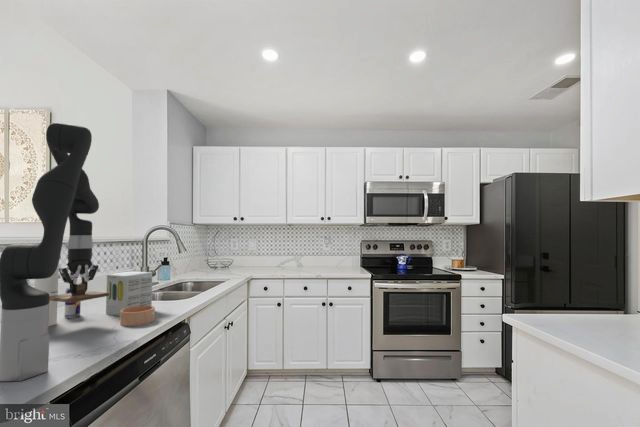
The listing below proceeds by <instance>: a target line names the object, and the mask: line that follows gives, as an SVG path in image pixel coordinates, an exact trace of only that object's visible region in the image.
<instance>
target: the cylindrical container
mask: <svg viewBox="0 0 640 427" xmlns="http://www.w3.org/2000/svg"><path fill="white" fill-rule="evenodd" d="M59 268H60V262H59V263H58V266H57V269H56V271H55V273H54V274H53V275H52V276H51V277H49V278H45V279H34V287H33V288H35V289H38V290H41V291H45V292H47V293H49V296H55V295H59V274H60V272H59ZM57 320H58V301H49V320H48V327H51V326H55V325H57V322H58V321H57Z"/></svg>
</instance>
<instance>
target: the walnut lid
mask: <svg viewBox="0 0 640 427" xmlns="http://www.w3.org/2000/svg"><path fill="white" fill-rule="evenodd" d="M76 284H77V289H76V294H71V293H67V294H65V293H62V294H58V295H55V296H49V297H50V299H49V301H57V303H59V302H62V303H65V302H68V303H72V302H78V301H81V302H82V301H87V300H93V299H99V298H104V297H105V298H106V296H109V293H107V291H105V292H103V291H93V290H91V291H90V290H87V291H86V292H85V284H82V283H81V282H80V283H76Z"/></svg>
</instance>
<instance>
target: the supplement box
mask: <svg viewBox="0 0 640 427" xmlns="http://www.w3.org/2000/svg"><path fill="white" fill-rule="evenodd" d="M106 292H107V293H109V296H105V298H106V299H105V300H106V301H105V315H109V316H117V317H120V310H122V309H124V308H128V307H134V306H153V305H152V302H153V301H152V298H153V296H152V295H153V294H152V293H153V272H151V271H150V272H149V271H124V272H115V273H108V274H106Z"/></svg>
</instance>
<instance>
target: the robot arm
mask: <svg viewBox="0 0 640 427" xmlns="http://www.w3.org/2000/svg"><path fill="white" fill-rule="evenodd" d="M45 136H46V137H45V139H46V144H47V146H48V148H49V152H50V153H51V155H52V157H53V159H54V162H55V163H56V166H54V167H52V168H51V169H49V170H48V171H47V172H45V173H44V174H43V175H41V176H40V177H39V179H38V181H37V183H36V186H35V188H34V192H33V194H32V197H31V203H32V207H33V208H34V211H35V213H36V215H37V216H38V219H40V222H41V224H42V227H43V235H42V240H41V242H40V243H13V244H9V245H7V246H6V247H5V248H4V249H3V250H2V252H1V253H0V301H1V315H0V319H1V320H0V382H14V381H15V382H17V381H18V382H21V381H24V380H25V381H26V380H27V379H30V378H33V377H36V376H38V375H42V374H44V373H47V372H48V371H49V357H50V356H49V354H50V334H49V326H48V320H49V299H50V297H49V293H47V292H45V291H41V290H38V289H35V288H34V287H33V286H32V285H31V284H29V283H28V280H35V279H45V278H49V277H51V276H52V275H53V274H54V273H55V271H56V269H57V266H58V263H59V264H60V258H61V254H62V253H61V252H62V249H63V248H62V246H63V242H64V241H63V240H64V236H65V230H66V226H67V223H68V222H69V236H68V237H69V238H68V241H67V242H68V243H67V264H66V266H63V267H59V274H60V276H61V279H62V281H63V282H64V283H66V284H69V288H70V293H71V294H76V289H77V284H78V282H77V281H78V278H79V277H80V281H81V282H80V283H82V284H85V292H86V291H88V287H89V286H88V283H89V281H93V280H94V278H95V276H96V273H97V272H98V270H99V265H98V264H97V265H96V264H93V262H92V259H93V236H92V235H93V222H92V221H91V220H88V219H83V218H79V216H78V214H80V215H83V214H84V215H92V214H95V213H96V212H98V210H99V208H100V203H99V200H98V198H97V196H96V195H95V193H94V192H93V191H92V189H91V186H90V180H89V176H88V174H87V173H86V171H85V170H84V169H83V167H84V165H85V162H86V160H87V157H88V155H89V152H90V149H91V146H92V132H91V130H90V129H89V128H87V127H85V126H80V125H75V124H69V123H61V122H52V123H50V124H48V126H47V128H46V132H45Z"/></svg>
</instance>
